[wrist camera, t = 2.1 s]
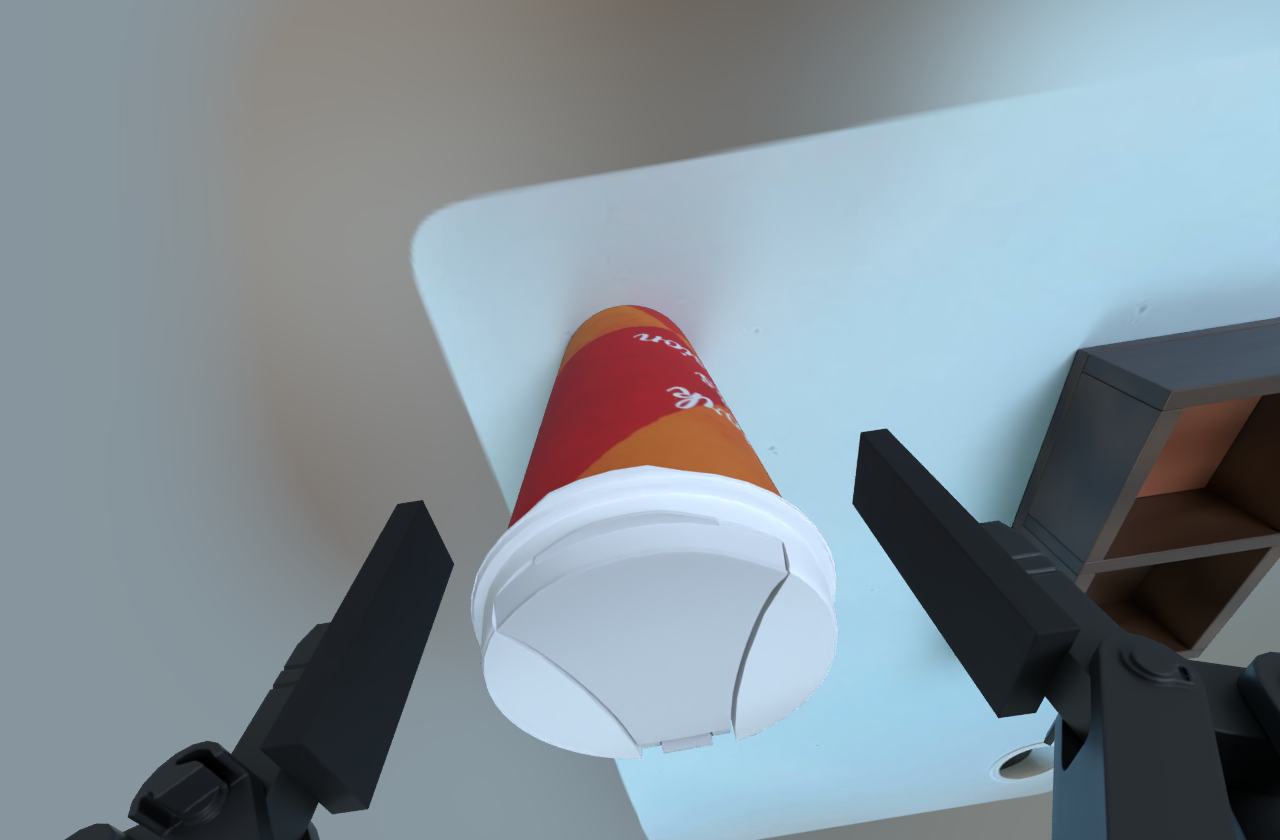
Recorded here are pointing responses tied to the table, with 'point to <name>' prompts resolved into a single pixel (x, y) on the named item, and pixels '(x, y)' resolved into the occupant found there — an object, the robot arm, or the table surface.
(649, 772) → the table surface
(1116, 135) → the table surface
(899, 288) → the table surface
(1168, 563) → the cup holder
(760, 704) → the coffee cup
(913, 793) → the table surface
